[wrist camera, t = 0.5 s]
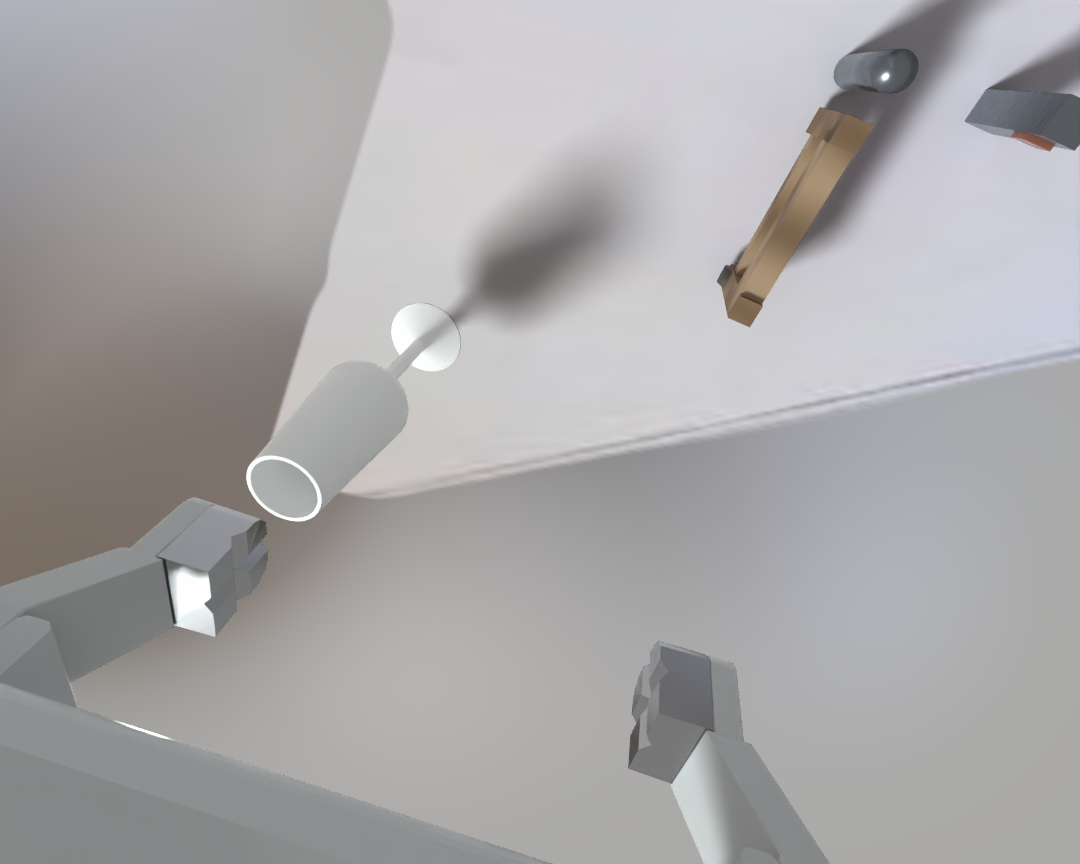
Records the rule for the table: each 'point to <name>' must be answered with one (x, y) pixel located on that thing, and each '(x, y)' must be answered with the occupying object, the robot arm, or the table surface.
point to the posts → (996, 112)
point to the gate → (792, 211)
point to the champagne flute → (348, 419)
